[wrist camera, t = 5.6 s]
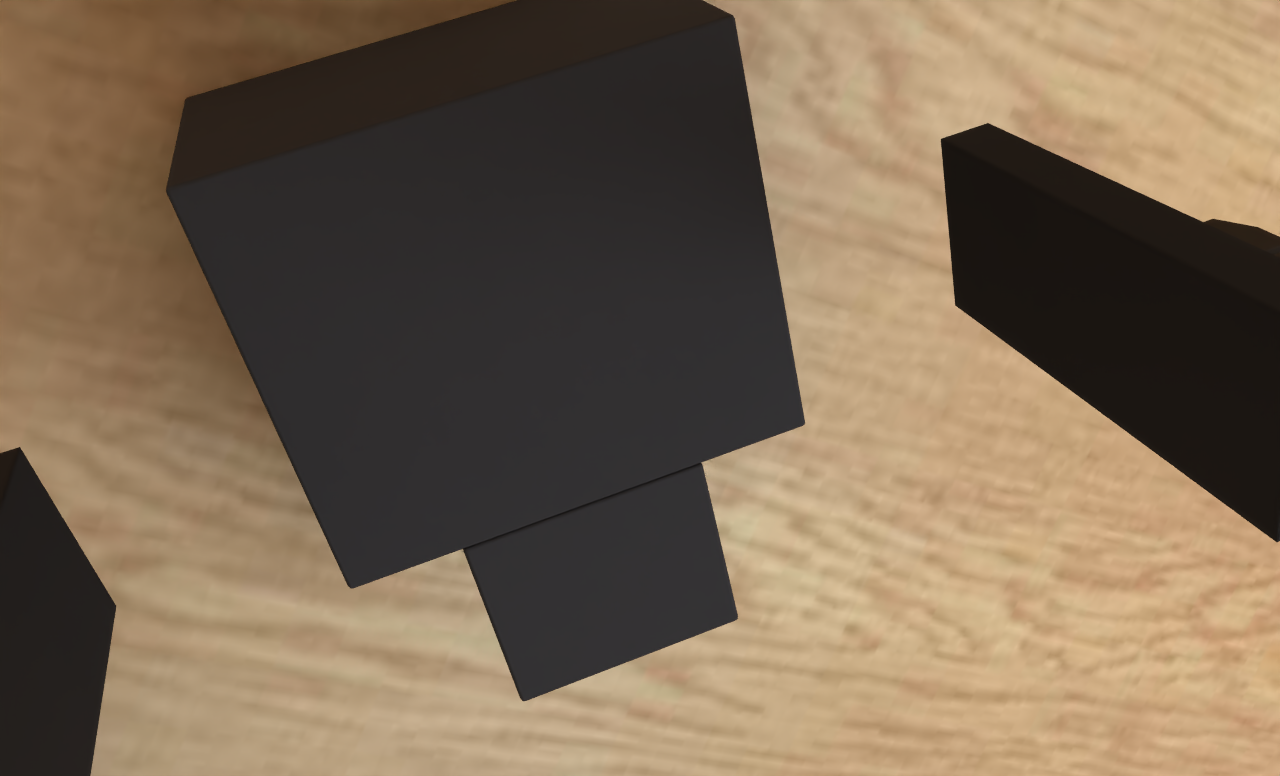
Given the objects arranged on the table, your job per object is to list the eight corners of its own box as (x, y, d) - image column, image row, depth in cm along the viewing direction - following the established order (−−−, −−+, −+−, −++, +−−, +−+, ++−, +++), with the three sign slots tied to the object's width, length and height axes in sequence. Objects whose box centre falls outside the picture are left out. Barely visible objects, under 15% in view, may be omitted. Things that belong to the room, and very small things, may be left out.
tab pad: (635, -35, 20) (735, 14, 16) (738, 451, 26) (834, 584, 21) (184, 98, 19) (164, 189, 15) (391, 577, 25) (419, 743, 20)
